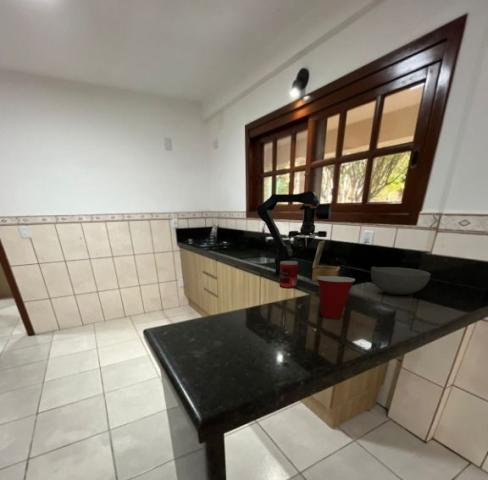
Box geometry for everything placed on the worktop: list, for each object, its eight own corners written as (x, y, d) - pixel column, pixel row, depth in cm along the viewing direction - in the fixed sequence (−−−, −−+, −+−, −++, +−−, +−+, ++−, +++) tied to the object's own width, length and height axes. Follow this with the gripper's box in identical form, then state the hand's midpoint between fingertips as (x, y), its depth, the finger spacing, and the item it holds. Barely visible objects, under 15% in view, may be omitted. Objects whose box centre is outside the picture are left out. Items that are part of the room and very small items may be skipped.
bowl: (414, 304, 92) (421, 275, 88) (358, 293, 106) (362, 268, 103) (432, 294, 104) (438, 269, 101) (379, 286, 119) (384, 263, 115)
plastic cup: (349, 312, 84) (354, 274, 80) (350, 323, 74) (356, 281, 70) (314, 308, 87) (318, 272, 83) (311, 319, 78) (315, 278, 73)
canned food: (295, 285, 121) (297, 260, 117) (297, 289, 114) (298, 263, 110) (278, 284, 122) (279, 260, 118) (279, 288, 114) (280, 263, 111)
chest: (338, 277, 137) (340, 266, 135) (336, 282, 126) (337, 270, 124) (316, 276, 142) (317, 265, 140) (311, 280, 131) (312, 268, 129)
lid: (324, 240, 134) (323, 240, 134) (320, 242, 123) (319, 241, 124) (318, 264, 139) (316, 264, 139) (313, 268, 129) (312, 267, 129)
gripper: (286, 219, 128) (284, 252, 134) (326, 219, 122) (322, 253, 127) (291, 219, 138) (290, 250, 143) (328, 219, 131) (325, 251, 137)
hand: (306, 251), depth 137 cm, fingers closed
